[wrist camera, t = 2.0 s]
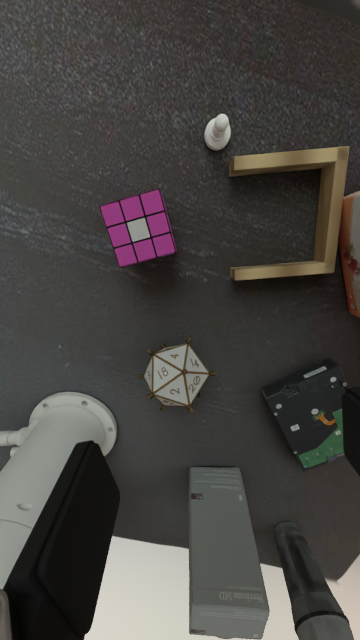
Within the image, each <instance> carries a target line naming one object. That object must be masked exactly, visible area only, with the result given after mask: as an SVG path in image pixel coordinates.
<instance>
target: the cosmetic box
mask: <svg viewBox="0 0 360 640" xmlns="http://www.w3.org/2000/svg"><path fill="white" fill-rule="evenodd" d="M189 571H190V575H189V576H190V582H189V583H190V584H189V585H190V586H189V591H190V593H189V594H190V595H189V596H190V597H189V599H190V601H189V607H190V609H189V610H190V611H189V616H190V617H189V618H190V619H189V633H190V634H195V635H207V636H216V637H219V638H223V639H230V638H246V639H261V638H262V636H263V633H264V629H265V625H266V622H267V620H268V616H269V606H268V600H267V596H266V591H265V586H264V581H263V576H262V572H261V567H260V562H259V557H258V552H257V547H256V543H255V538H254V533H253V528H252V523H251V519H250V514H249V509H248V504H247V500H246V495H245V490H244V485H243V480H242V476H241V472H240V470H239V468H238V467H233V468H214V467H191V468H190V477H189Z"/></svg>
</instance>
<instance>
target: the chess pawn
mask: <svg viewBox="0 0 360 640" xmlns="http://www.w3.org/2000/svg"><path fill="white" fill-rule="evenodd" d="M230 134H231V130H230V126H229V120H228V117H227V116H226V115H225V114H220V115H218V116H217V117H216V118H214V119H212V120H211V121H210V122H209V123H208V125H207V127H206V130H205V134H204V138H205V142H206V144H207V146H208V147H209V148H210V149H212V150H221V149H222V148H224V147H225V146H226V145H227V143H228V141H229V139H230Z"/></svg>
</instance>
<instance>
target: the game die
mask: <svg viewBox="0 0 360 640" xmlns="http://www.w3.org/2000/svg"><path fill="white" fill-rule="evenodd" d="M186 341H187V343H185V344H180V345H175V346H171V347H166V348H165V344H161V347H162V348H163V349H161V350H159V351H157V352H155V353H153V351H152V350H149V349H148V354H150V355H152V357H151V359H150V361H149V364H148V366H147V368H146V371H145V373H144V375H143V374H139V375H138V376H137V377H139V378H143V377H144V379H145V381H146V383H147V385H148V387H149V389H150V391H151V393H149V395H147V399H151V398H152V397H153V396H154V397H155V398H156V399H157V400H158V401H159V402H160V403H161V404H163V405H162V406H161V408H160V409H161V412H162V411H163V410H165V406H186V407H188V408H189V409H188V410H189V412H191V413H193V410H194V409H193V407H191V404H192V403H193V401H194V400H195V398H196V396H197V397H200V393H199V392H200V390H201V388H202V387H203V385H204V384H205V382H206V380H207V379H208V377H209V375H212V376H215V375H216V374H217V373H216V372H214V371H213V372H209V371H208V369H207V368H206V367H205V365H204V364H203V363H202V361H201V360H200V358H199V357H198V356H197V354H196V353H195V352H194V350H193V349H192V347H191V346H190V345H189V343H190V342H191V337H189V338H188V339H187V340H186Z"/></svg>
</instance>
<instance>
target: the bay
mask: <svg viewBox="0 0 360 640" xmlns="http://www.w3.org/2000/svg"><path fill="white" fill-rule="evenodd" d="M348 154H349V146H345V147H334V148H323V149H312V150H301V151H290V152H279V153H268V154H257V155H247V156H236V157H234V158H233V159H232V161H231V162H230V164H229V176H230V177H231V176H242V175H253V174H264V173H275V172H287V171H298V170H309V169H320V168H322V170H321V181H320V191H319V202H318V213H317V224H316V235H315V246H314V256H313V261H306V262H293V263H281V264H268V265H256V266H244V267H231V268H230V276H231V278H232V279H234V280H235V281H238V280H250V279H263V278H276V277H288V276H301V275H313V274H326V273H334V269H335V261H336V253H337V245H338V236H339V228H340V220H341V212H342V203H343V195H344V187H345V179H346V170H347V162H348Z"/></svg>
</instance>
